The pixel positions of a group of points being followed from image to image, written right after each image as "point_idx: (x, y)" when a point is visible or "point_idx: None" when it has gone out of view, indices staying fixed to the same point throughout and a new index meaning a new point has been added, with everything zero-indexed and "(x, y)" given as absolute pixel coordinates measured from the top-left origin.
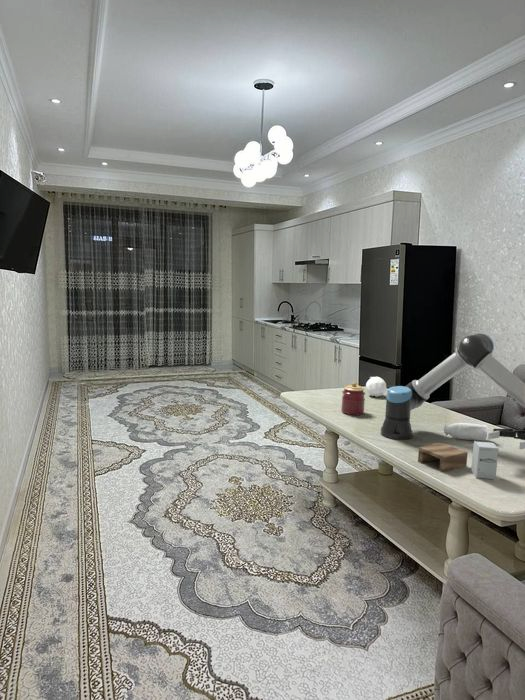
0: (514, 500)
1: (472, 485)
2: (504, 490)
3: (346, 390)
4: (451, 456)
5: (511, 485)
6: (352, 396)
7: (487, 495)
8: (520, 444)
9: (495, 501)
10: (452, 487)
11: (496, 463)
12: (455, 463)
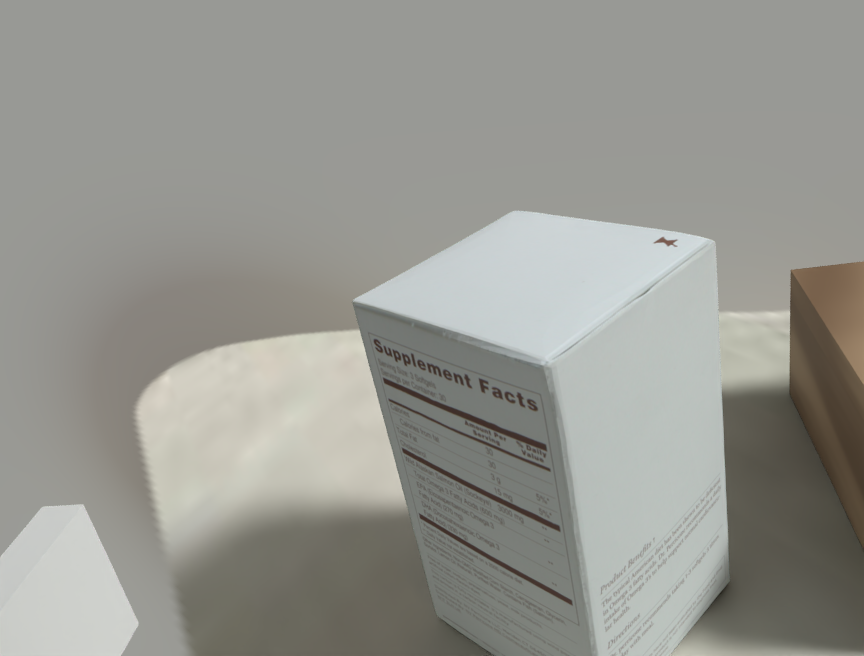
0: (178, 459)
1: None
2: (278, 514)
3: None
4: (819, 323)
5: (265, 637)
6: None
7: (333, 393)
8: (87, 548)
9: (268, 382)
10: None
11: (401, 465)
12: (840, 445)
